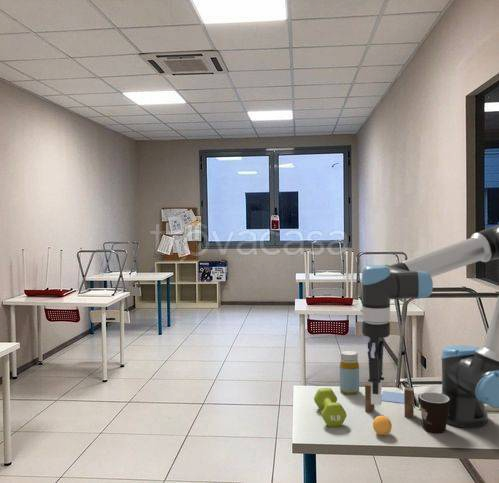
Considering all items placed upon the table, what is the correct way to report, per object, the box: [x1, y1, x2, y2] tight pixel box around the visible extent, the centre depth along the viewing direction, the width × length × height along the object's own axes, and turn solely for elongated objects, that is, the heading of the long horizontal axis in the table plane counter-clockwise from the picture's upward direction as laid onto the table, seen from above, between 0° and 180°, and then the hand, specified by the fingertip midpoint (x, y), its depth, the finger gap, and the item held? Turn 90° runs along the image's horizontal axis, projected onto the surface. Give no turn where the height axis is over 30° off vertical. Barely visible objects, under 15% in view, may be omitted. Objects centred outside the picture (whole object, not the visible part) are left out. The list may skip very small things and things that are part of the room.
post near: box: [403, 386, 415, 419], centre depth 159 cm, size 3×3×9 cm
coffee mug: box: [417, 391, 449, 435], centre depth 151 cm, size 12×9×10 cm
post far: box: [364, 382, 375, 413], centre depth 164 cm, size 3×3×9 cm
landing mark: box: [381, 390, 404, 404], centre depth 175 cm, size 9×9×1 cm
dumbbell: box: [313, 387, 347, 428], centre depth 161 cm, size 16×8×7 cm, turn 2°
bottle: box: [339, 349, 360, 396], centre depth 181 cm, size 7×7×15 cm
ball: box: [372, 415, 393, 436], centre depth 147 cm, size 6×6×6 cm
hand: (376, 403), depth 138 cm, fingers closed
